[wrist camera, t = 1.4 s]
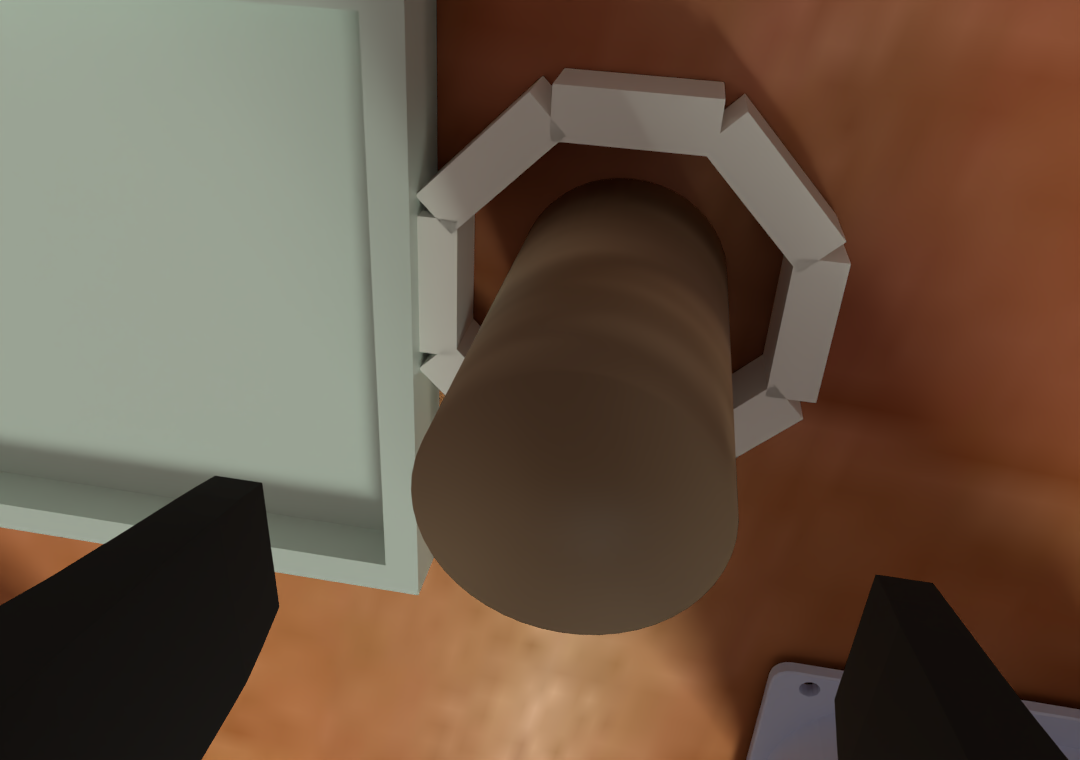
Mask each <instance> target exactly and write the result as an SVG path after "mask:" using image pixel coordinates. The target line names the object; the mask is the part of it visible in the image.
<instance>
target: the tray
mask: <svg viewBox="0 0 1080 760" xmlns="http://www.w3.org/2000/svg"><path fill="white" fill-rule="evenodd" d="M437 172H438V157H437V9H436V0H0V527H3V528H9V529H15V530H21V531H28V532H34V533H40V534H46V535H52V536H58V537H64V538H70V539H77V540H83V541H89V542H95V543H101V544H105V543H107V542H108V541H110V540H111V539H113V538H115V537H116V536H118V535H119V534H121V533H123V532H124V531H126V530H127V529H129V528H131V527H132V526H134V525H135V524H137V523H138V522H140V521H142V520H143V519H145V518H146V517H148V516H150V515H151V514H153V513H154V512H156V511H157V510H159V509H161V508H162V507H164V506H165V505H167V504H169V503H170V502H172V501H173V500H175V499H177V498H178V497H180V496H181V495H183V494H185V493H186V492H188V491H190V490H191V489H193V488H195V487H196V486H198V485H200V484H201V483H203V482H205V481H207V480H208V479H210V478H212V477H214V476H221V477H228V478H234V479H241V480H248V481H254V482H261V483H262V484H263V491H264V499H265V506H266V513H267V521H268V528H269V535H270V543H271V550H272V557H273V565H274V572H279V573H285V574H291V575H297V576H304V577H310V578H316V579H322V580H328V581H334V582H340V583H346V584H353V585H359V586H365V587H371V588H377V589H383V590H389V591H396V592H402V593H408V594H414V595H419V593H420V590H421V588H422V585H423V583H424V580H425V578H426V575H427V573H428V571H429V568H430V566H431V563H432V561H433V558H434V556H433V555H432V553H431V552H430V550H429V548H428V547H427V545H426V543H425V541H424V540H423V537H422V535H421V532H420V530H419V528H418V525H417V522H416V518H415V515H414V511H413V506H412V496H411V479H412V471H413V466H414V462H415V457H416V455H417V452H418V450H419V447H420V445H421V442H422V440H423V438H424V436H425V434H426V432H427V430H428V429H429V427H430V425H431V423H432V421H433V419H434V417H435V415H436V413H437V411H438V409H439V389H438V388H437V387H436V386H435V385H434V384H433V382H432V381H431V380H430V379H429V378H428V377H427V376H426V375H425V374H424V373H423V372H422V371H421V370H420V367H421V365H422V363H423V362H424V360H425V358H426V357H427V355H428V353H424V352H420V339H419V288H418V236H417V216H418V215H419V213H420V212H421V211H422V210H423V209H424V208H425V206H424V205H423V203H422V202H421V201H420V200H419V199H418V198H417V193H418V192H419V191H420V190H421V189H422V188H423V187H424V186H425V185H426V184H427V183H428V182H429V181H430V179H431V178H432V177H433V176H434V175H435V174H436V173H437Z"/></svg>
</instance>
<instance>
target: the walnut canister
mask: <svg viewBox="0 0 1080 760" xmlns="http://www.w3.org/2000/svg"><path fill="white" fill-rule="evenodd" d="M411 496H412V506H413V511H414V515H415V518H416V522H417V525H418V528H419V530H420V532H421V535H422V537H423V540H424V541H425V543H426V545H427V547H428V548H429V550H430V552H431V553H432V555H433V556H434V558H435V559H436V560H437V562H438V563H439V564H440V566H441V567H442V568H443V570H444V571H445V572H446V573H447V574H448V575H449V576H450V577H451V578H452V579H453V580H454V581H455V582H456V583H457V584H458V585H459V586H461V587H462V588H463V589H464V590H465V591H467V592H468V593H469V594H470V595H472V596H473V597H475V598H476V599H478V600H479V601H480V602H482V603H483V604H485V605H486V606H488V607H490V608H492V609H494V610H496V611H498V612H499V613H501V614H503V615H505V616H508V617H510V618H513V619H515V620H517V621H520V622H522V623H525V624H529V625H532V626H535V627H538V628H542V629H547V630H551V631H556V632H562V633H570V634H579V635H604V634H617V633H623V632H628V631H634V630H638V629H642V628H645V627H648V626H652V625H655V624H657V623H660V622H662V621H664V620H667V619H669V618H671V617H673V616H675V615H677V614H678V613H680V612H682V611H684V610H685V609H687V608H688V607H690V606H691V605H692V604H694V603H695V602H696V601H698V600H699V599H700V598H701V597H702V596H703V595H704V594H705V593H706V592H707V591H708V590H709V589H710V588H711V587H712V586H713V585H714V584H715V582H716V581H717V580H718V578H719V577H720V575H721V574H722V573H723V571H724V569H725V567H726V565H727V563H728V561H729V559H730V557H731V555H732V552H733V549H734V545H735V542H736V538H737V531H738V523H739V519H738V496H737V474H736V453H735V432H734V410H733V389H732V367H731V346H730V325H729V303H728V282H727V265H726V260H725V254H724V251H723V248H722V245H721V242H720V240H719V238H718V236H717V234H716V232H715V230H714V229H713V227H712V226H711V224H710V223H709V221H708V220H707V218H706V217H705V216H704V215H703V214H702V213H701V212H700V211H699V210H698V209H697V208H696V207H695V206H694V205H693V204H692V203H690V202H689V201H688V200H687V199H685V198H684V197H682V196H680V195H679V194H677V193H676V192H674V191H672V190H670V189H668V188H665V187H663V186H661V185H658V184H655V183H651V182H648V181H643V180H637V179H626V178H615V179H604V180H599V181H595V182H590V183H588V184H585V185H582V186H579V187H577V188H575V189H573V190H571V191H569V192H567V193H565V194H564V195H562V196H561V197H560V198H558V199H557V200H555V201H554V202H553V203H552V204H551V205H550V206H549V207H548V208H546V209H545V210H544V211H543V213H542V214H541V215H540V216H539V218H538V219H537V220H536V221H535V223H534V225H533V227H532V228H531V230H530V232H529V233H528V235H527V237H526V239H525V241H524V243H523V245H522V247H521V249H520V251H519V253H518V255H517V257H516V259H515V261H514V263H513V265H512V267H511V269H510V271H509V272H508V274H507V276H506V278H505V280H504V282H503V284H502V286H501V288H500V290H499V292H498V294H497V296H496V298H495V300H494V302H493V304H492V306H491V308H490V310H489V311H488V313H487V315H486V317H485V319H484V321H483V323H482V325H481V327H480V329H479V331H478V333H477V335H476V337H475V339H474V341H473V343H472V345H471V347H470V349H469V350H468V352H467V354H466V356H465V358H464V360H463V362H462V364H461V366H460V368H459V370H458V372H457V374H456V376H455V378H454V380H453V382H452V384H451V386H450V388H449V389H448V391H447V393H446V395H445V397H444V399H443V401H442V403H441V405H440V407H439V409H438V411H437V413H436V415H435V417H434V419H433V421H432V423H431V425H430V427H429V429H428V430H427V432H426V434H425V436H424V438H423V440H422V442H421V445H420V447H419V450H418V452H417V455H416V457H415V462H414V466H413V471H412V479H411Z"/></svg>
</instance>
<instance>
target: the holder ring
mask: <svg viewBox="0 0 1080 760" xmlns="http://www.w3.org/2000/svg"><path fill="white" fill-rule="evenodd" d="M725 100H726V98H725V85H724V82H718V81H706V80H695V79H684V78H672V77H661V76H649V75H638V74H627V73H615V72H604V71H592V70H581V69H570V68H564V70H563V71H562V72H561V73H560V75H559V76H558V77H557V79H556V80H555V81H554V83H553V84H552V86H551V85H550V83H549V82H548V81H547V80H546V79H545V77H544V76H542V77H541V78H540V79H539V80H537V81H536V82H535V83H534V84H533V85H532V86H531V87H530V88H529V89H528V90H527V91H525V92H524V93H523V94H522V95H521V96H520V97H519V98H518V99H517V100H516V101H515V102H513V103H512V104H511V105H510V106H509V107H508V108H507V109H506V110H505V111H504V112H502V113H501V114H500V115H499V116H498V117H497V118H496V119H495V120H494V121H493V122H492V123H490V124H489V125H488V126H487V127H486V128H485V129H484V130H483V131H482V132H481V133H480V134H478V135H477V136H476V137H475V138H474V139H473V140H472V141H471V142H470V143H469V144H468V145H466V146H465V147H464V148H463V149H462V150H461V151H460V152H459V153H458V154H457V155H455V156H454V157H453V158H452V159H451V160H450V161H449V162H448V163H447V164H446V165H445V166H443V167H442V168H441V169H440V170H439V171H438V172H437V173H436V174H435V175H434V176H433V177H432V178H431V179H430V181H429V182H428V183H427V184H426V185H425V186H424V187H423V188H422V189H421V190H420V191H419V192H418V193H417V198H418V199H419V200H420V201H421V202H422V203H423V205H424V206H425V208H424V209H423V210H422V211H421V212H420V213H419V215H418V216H417V236H418V288H419V339H420V352H424V353H428V355H427V357H426V358H425V360H424V362H423V363H422V365H421V367H420V370H421V371H422V372H423V373H424V374H425V375H426V376H427V377H428V378H429V379H430V380H431V381H432V382H433V384H434V385H435V386H436V387H437V388H438V389H439V390H440V391H441V392H442V393H443V394H444V395H446V393H447V391H448V389H449V388H450V386H451V384H452V382H453V380H454V378H455V376H456V374H457V372H458V370H459V368H460V366H461V364H462V362H463V360H464V358H465V356H466V354H467V352H468V350H469V349H470V347H471V345H472V343H473V341H474V339H475V337H476V335H477V333H478V331H479V329H480V327H481V326H480V325H479V324H478V323H477V322H476V321H475V320H474V319H473V301H474V237H475V213H477V212H478V211H479V210H480V209H481V208H482V207H484V206H485V205H486V204H487V203H488V202H489V201H491V200H492V199H493V198H494V197H495V196H496V195H498V194H499V193H500V192H501V191H502V190H503V189H505V188H506V187H507V186H508V185H509V184H510V183H512V182H513V181H514V180H515V179H516V178H517V177H518V176H520V175H521V174H522V173H523V172H524V171H525V170H527V169H528V168H529V167H530V166H531V165H532V164H534V163H535V162H536V161H537V160H538V159H539V158H541V157H542V156H543V155H544V154H545V153H546V152H548V151H549V150H550V149H551V148H552V147H553V146H555V145H556V144H557V143H558V142H565V143H575V144H586V145H596V146H606V147H616V148H626V149H637V150H647V151H657V152H667V153H678V154H688V155H698V156H707V158H708V159H709V160H710V161H711V163H712V164H713V165H714V166H715V168H716V169H717V170H718V172H719V173H720V174H721V175H722V177H723V178H724V179H725V180H726V182H727V183H728V184H729V186H730V187H731V188H732V189H733V191H734V192H735V193H736V194H737V196H738V197H739V198H740V199H741V201H742V202H743V203H744V205H745V206H746V207H747V208H748V210H749V211H750V212H751V213H752V215H753V216H754V217H755V219H756V220H757V221H758V222H759V224H760V225H761V226H762V227H763V229H764V230H765V231H766V233H767V234H768V235H769V236H770V238H771V239H772V240H773V241H774V243H775V244H776V245H777V246H778V248H779V249H780V250H781V252H782V253H783V254H784V256H783V261H782V265H781V270H780V275H779V280H778V285H777V290H776V294H775V299H774V304H773V309H772V314H771V318H770V323H769V328H768V333H767V338H766V343H765V347H764V352H763V355H761V356H760V357H758V358H757V359H755V360H753V361H752V362H750V363H749V364H747V365H745V366H744V367H742V368H741V369H739V370H737V371H736V372H734V373H733V374H732V389H733V410H734V432H735V453H736V458H737V457H738V456H740V455H742V454H744V453H745V452H747V451H749V450H750V449H752V448H754V447H756V446H757V445H759V444H761V443H763V442H764V441H766V440H768V439H770V438H771V437H773V436H775V435H777V434H778V433H780V432H782V431H783V430H785V429H787V428H789V427H790V426H792V425H794V424H796V423H797V422H799V421H801V420H803V415H802V409H801V403H800V401H804V402H811V403H816V401H817V397H818V393H819V389H820V385H821V381H822V378H823V374H824V370H825V366H826V362H827V358H828V354H829V350H830V346H831V342H832V338H833V334H834V330H835V326H836V322H837V318H838V314H839V310H840V306H841V302H842V298H843V294H844V290H845V286H846V282H847V278H848V274H849V270H850V266H851V263H850V260H849V257H848V255H847V252H846V249H845V247H844V243H846V239H845V236H844V234H843V231H842V229H841V226H840V223H839V221H838V218H837V216H836V214H835V212H834V211H833V210H832V208H831V207H830V206H829V205H828V203H827V202H826V201H825V199H824V198H823V197H822V195H821V194H820V193H819V191H818V190H817V189H816V187H815V186H814V185H813V183H812V182H811V181H810V179H809V178H808V177H807V175H806V174H805V173H804V171H803V170H802V169H801V167H800V166H799V165H798V163H797V162H796V161H795V159H794V158H793V157H792V155H791V154H790V153H789V151H788V150H787V149H786V147H785V146H784V145H783V143H782V142H781V141H780V139H779V138H778V137H777V135H776V134H775V133H774V131H773V130H772V129H771V127H770V126H769V125H768V123H767V122H766V121H765V119H764V118H763V117H762V115H761V114H760V113H759V111H758V110H757V109H756V107H755V106H754V105H753V103H752V102H751V101H750V99H749V98H748V97H747V95H746V94H744V95H742V96H741V97H740V98H739V99H737V100H736V101H735V102H734V103H732V104H731V105H730V106H729V107H727V108H726V109H725V110H724V106H725Z"/></svg>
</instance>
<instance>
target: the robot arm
mask: <svg viewBox="0 0 1080 760" xmlns="http://www.w3.org/2000/svg"><path fill="white" fill-rule="evenodd" d="M278 609H279V602H278V594H277V587H276V579H275V572H274V565H273V557H272V550H271V543H270V535H269V528H268V521H267V513H266V506H265V499H264V491H263V484H262V483H261V482H254V481H248V480H241V479H234V478H228V477H221V476H214V477H212V478H210V479H208V480H207V481H205V482H203V483H201V484H200V485H198V486H196V487H195V488H193V489H191V490H190V491H188V492H186V493H185V494H183V495H181V496H180V497H178V498H177V499H175V500H173V501H172V502H170V503H169V504H167V505H165V506H164V507H162V508H161V509H159V510H157V511H156V512H154V513H153V514H151V515H150V516H148V517H146V518H145V519H143V520H142V521H140V522H138V523H137V524H135V525H134V526H132V527H131V528H129V529H127V530H126V531H124V532H123V533H121V534H119V535H118V536H116V537H115V538H113V539H111V540H110V541H108V542H107V543H105V544H103V545H102V546H100V547H98V548H97V549H95V550H94V551H92V552H90V553H89V554H87V555H86V556H84V557H82V558H81V559H79V560H77V561H76V562H74V563H73V564H71V565H69V566H68V567H66V568H64V569H63V570H61V571H60V572H58V573H56V574H55V575H53V576H51V577H50V578H48V579H46V580H45V581H43V582H41V583H39V584H37V585H36V586H34V587H32V588H30V589H29V590H27V591H25V592H23V593H22V594H20V595H18V596H16V597H15V598H13V599H11V600H9V601H8V602H6V603H4V604H2V605H1V606H0V760H201V759H202V758H203V756H204V754H205V753H206V751H207V749H208V748H209V746H210V744H211V743H212V741H213V739H214V738H215V736H216V734H217V732H218V731H219V729H220V727H221V726H222V724H223V722H224V721H225V719H226V717H227V715H228V714H229V712H230V710H231V709H232V707H233V705H234V703H235V702H236V700H237V698H238V696H239V695H240V693H241V691H242V689H243V688H244V686H245V684H246V682H247V680H248V678H249V676H250V674H251V671H252V669H253V667H254V665H255V663H256V660H257V658H258V656H259V654H260V651H261V649H262V647H263V645H264V642H265V640H266V637H267V635H268V633H269V630H270V628H271V625H272V623H273V621H274V618H275V616H276V613H277V611H278ZM806 682H812V683H814V684H804V683H806ZM746 760H1080V709H1074V708H1068V707H1062V706H1056V705H1050V704H1044V703H1038V702H1032V701H1025V700H1021V699H1020V698H1019V697H1018V696H1017V694H1016V693H1015V692H1014V690H1013V689H1012V688H1011V686H1010V685H1009V684H1008V682H1007V681H1006V680H1005V678H1004V677H1003V676H1002V675H1001V673H1000V672H999V671H998V669H997V668H996V667H995V665H994V664H993V663H992V661H991V660H990V659H989V657H988V656H987V655H986V653H985V652H984V651H983V649H982V648H981V647H980V645H979V644H978V643H977V641H976V640H975V639H974V637H973V636H972V635H971V633H970V632H969V631H968V629H967V628H966V627H965V625H964V624H963V623H962V621H961V620H960V619H959V617H958V616H957V615H956V613H955V612H954V611H953V609H952V608H951V607H950V605H949V604H948V603H947V601H946V600H945V599H944V597H943V596H942V595H941V593H940V592H939V591H938V589H937V588H936V587H935V585H934V584H933V583H929V582H922V581H915V580H909V579H902V578H895V577H889V576H882V575H875V578H874V581H873V584H872V587H871V590H870V593H869V596H868V599H867V602H866V605H865V608H864V611H863V614H862V617H861V621H860V624H859V627H858V630H857V633H856V636H855V639H854V642H853V645H852V648H851V651H850V654H849V657H848V660H847V663H846V666H845V669H844V671H842V670H836V669H830V668H824V667H818V666H812V665H806V664H800V663H794V662H783V663H780V664H777V665H776V666H774V667H773V668H772V669H771V671H770V673H769V676H768V680H767V684H766V688H765V691H764V695H763V699H762V702H761V706H760V710H759V714H758V717H757V721H756V725H755V729H754V732H753V736H752V740H751V744H750V747H749V751H748V755H747V758H746Z"/></svg>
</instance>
